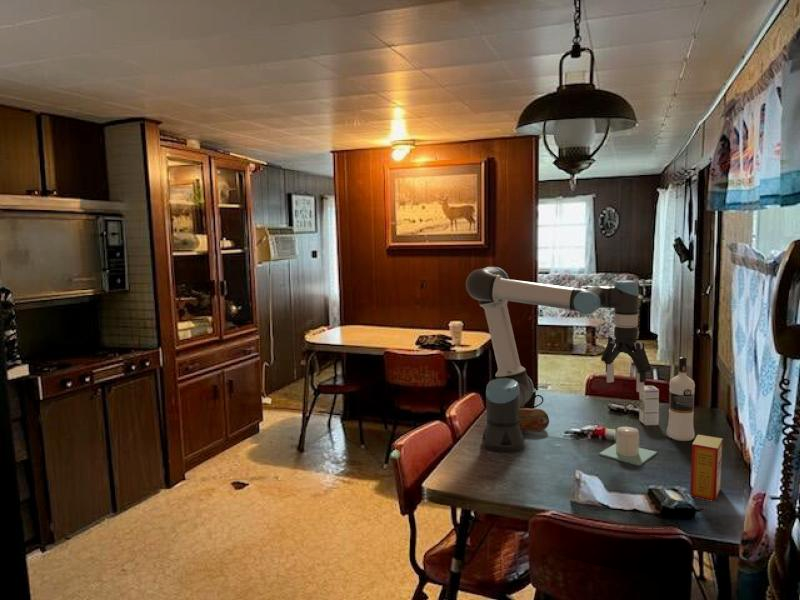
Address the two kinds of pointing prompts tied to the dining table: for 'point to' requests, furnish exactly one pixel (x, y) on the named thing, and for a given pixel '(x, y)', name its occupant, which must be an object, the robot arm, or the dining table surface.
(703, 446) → the baking soda box
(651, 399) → the syrup box
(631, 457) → the base
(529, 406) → the coffee mug
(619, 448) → the cap
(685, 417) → the vodka
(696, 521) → the dining table surface
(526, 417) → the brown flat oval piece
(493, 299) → the robot arm
